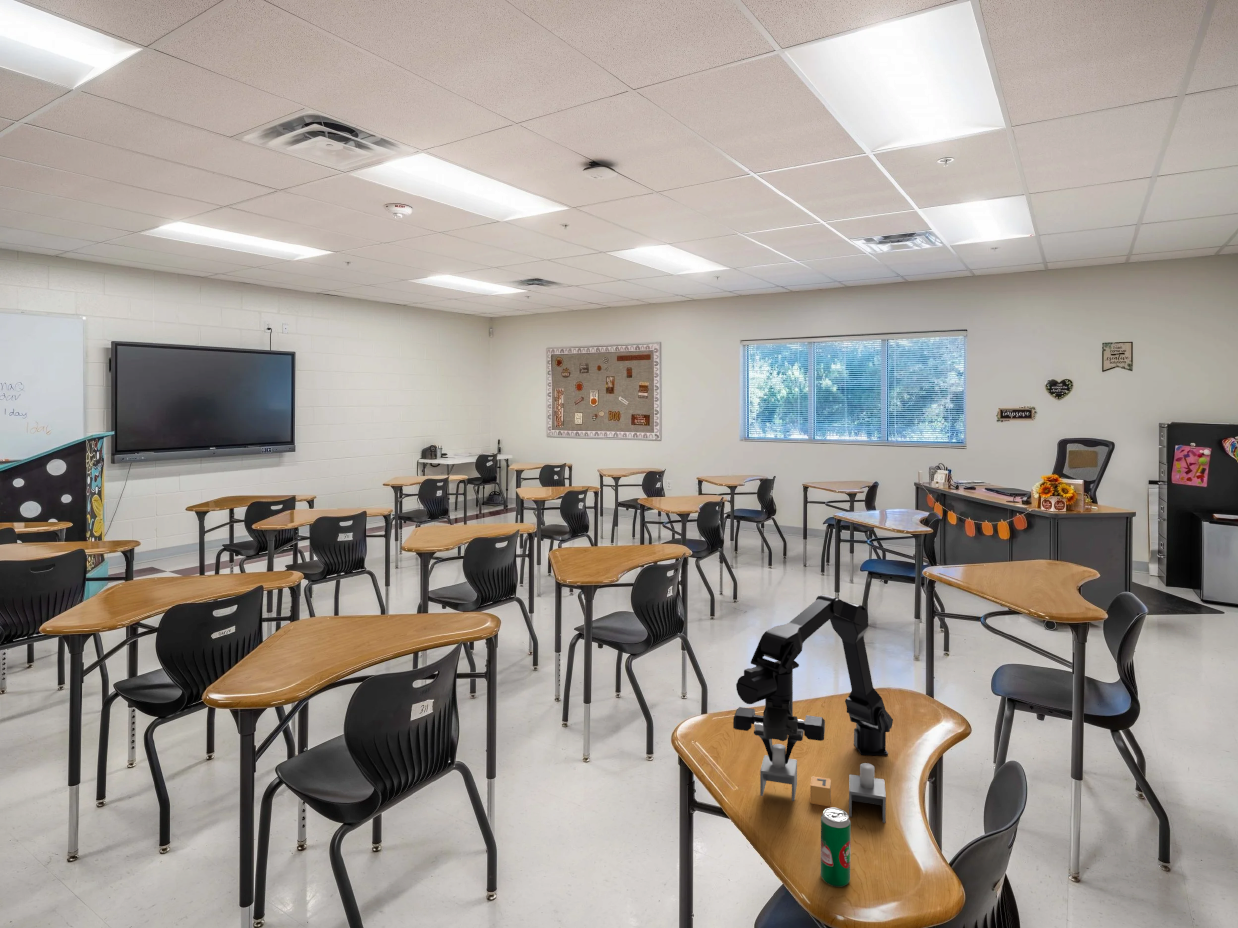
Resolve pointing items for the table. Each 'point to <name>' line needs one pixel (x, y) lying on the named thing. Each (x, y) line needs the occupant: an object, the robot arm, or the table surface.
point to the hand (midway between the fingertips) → (778, 761)
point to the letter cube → (820, 791)
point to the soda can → (835, 847)
